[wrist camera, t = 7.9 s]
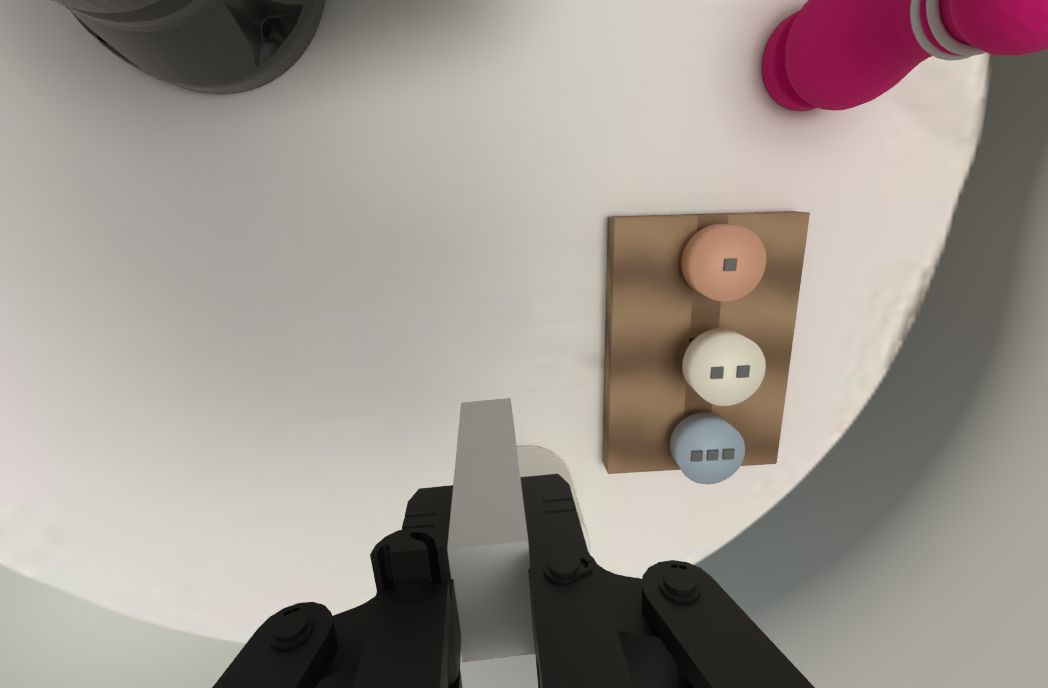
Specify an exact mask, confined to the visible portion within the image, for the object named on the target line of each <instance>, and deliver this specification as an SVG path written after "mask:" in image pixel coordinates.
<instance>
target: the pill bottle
mask: <svg viewBox="0 0 1048 688" xmlns="http://www.w3.org/2000/svg"><path fill="white" fill-rule="evenodd" d="M517 455H518V463H519V471H520V477H528V476H538V475H548V474H559V475H560V476H561V477H562V478H563V479H564V480H565V481H567V482H568V483H569V485H570V488H571V492H572V495H573V500H574V502H575V506H576V511H577V513H578V517H579V520H580V524H581V527H582V531H583V534H584V538H585V541H586V545H587V548H588V552H589V554H590V541H589V536H588V532H587V529H586V526H585V522H584V519H583V516H582V512H581V509H580V506H579V502H578V499H577V496H576V492H575V489H574V486H573V482H572V479H571V476H570V473H569V471H568V468H567V466H566V465H565V463H564V462H563V461H562V459H560V458H559V457H558V456H557V455H556V454H554V453H552V452H551V451H549V450H547V449H544V448H541V447H535V446H520V447H517Z"/></svg>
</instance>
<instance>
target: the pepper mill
mask: <svg viewBox="0 0 1048 688" xmlns="http://www.w3.org/2000/svg"><path fill="white" fill-rule="evenodd" d="M1047 48H1048V0H809V1H808V2H807V3H806V4H805V5H804V6H803V7H802V9H801V10H800V11H798V12H796V13H795V14H793V15H791V16H790V17H788V18H787V19H786V20H784V21H783V22H782V23H781V24H780V25H779V26H778V27H777V28H776V30H775V31H774V33H773V34H772V36H771V37H770V39H769V41H768V43H767V46H766V49H765V52H764V56H763V65H762V69H763V79H764V82H765V85H766V88H767V90H768V92H769V93H770V95H771V96H772V98H773V99H774V100H775V101H776V102H778V103H779V104H780V105H782V106H783V107H785V108H788V109H791V110H796V111H804V110H810V109H814V108H821V109H825V110H844V109H849V108H853V107H855V106H858V105H861V104H864V103H866V102H869V101H871V100H873V99H875V98H877V97H878V96H880V95H882V94H883V93H885V92H886V91H888V90H889V89H891V88H892V87H893V86H895V85H896V84H897V83H898V82H900V81H901V80H902V79H903V78H904V77H905V76H906V75H907V74H908V73H909V72H910V71H911V70H912V69H913V68H914V67H916V66H917V65H918V64H919V63H920V62H922V61H924V60H925V59H927V58H929V57H931V56H934V57H936V58H939V59H944V60H960V59H964V58H968V57H970V56H973V55H979V54H983V53H986V52H987V53H989V54H995V55H1015V56H1017V55H1023V54H1029V53H1034V52H1037V51H1040V50H1044V49H1047Z"/></svg>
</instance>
